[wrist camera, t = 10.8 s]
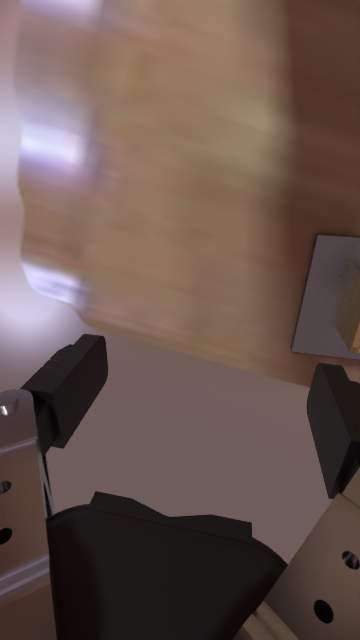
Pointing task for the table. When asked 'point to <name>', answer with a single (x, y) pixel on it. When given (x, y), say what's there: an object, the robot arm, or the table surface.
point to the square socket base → (331, 300)
